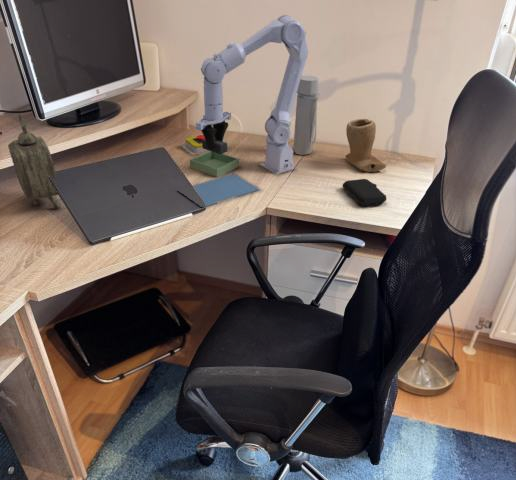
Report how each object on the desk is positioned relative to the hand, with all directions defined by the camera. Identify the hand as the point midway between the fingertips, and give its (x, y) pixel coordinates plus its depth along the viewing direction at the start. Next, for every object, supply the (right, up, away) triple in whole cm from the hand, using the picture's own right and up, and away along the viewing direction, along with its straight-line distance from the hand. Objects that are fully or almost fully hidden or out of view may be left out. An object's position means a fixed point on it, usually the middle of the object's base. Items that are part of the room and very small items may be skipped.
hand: (214, 146), depth 164 cm
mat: (+2, -16, -5) cm, 17 cm away
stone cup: (+51, -2, +13) cm, 52 cm away
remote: (0, -1, +1) cm, 1 cm away
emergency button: (-6, +8, +21) cm, 23 cm away
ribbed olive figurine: (-50, -23, -15) cm, 57 cm away
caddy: (-1, -4, +8) cm, 9 cm away
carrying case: (+48, -18, -5) cm, 52 cm away
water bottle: (+31, +6, +21) cm, 38 cm away
